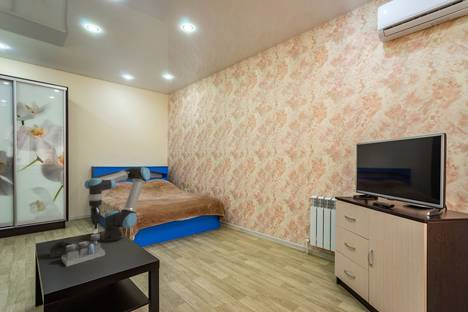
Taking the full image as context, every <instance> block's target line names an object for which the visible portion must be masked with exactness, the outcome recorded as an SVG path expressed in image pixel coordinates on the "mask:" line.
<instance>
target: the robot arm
mask: <svg viewBox="0 0 468 312" xmlns="http://www.w3.org/2000/svg"><path fill="white" fill-rule="evenodd" d="M150 178H151V172H150V169H149V168H147V167H143V166H141V167H129V168H125V169H122V170H120V171H119V172H116V173H111V174H108V175H104V176H101V177H94V178H93V177H92V178H90V179H87V180H85V182H84V188H85V189H87V190H88V199H89V201H88V205H89V207H91V208H90V215H91V223H92V235H93V234H99V224H100V216H101V210H100V206H101V205H102V201H103V200H102V198H103V194H102V191H107V190H108V191H109V190H112V189H115V187H116V186H117V185H116V184H117V182H121V181H132V185H131V188H130V190H129V193H128V195H127V199H126V203H125V204H124V208H122V209H121V211H120V210H119V209H118V210H111V211H108V212H105V214H104V217H103V220H104V231H103V234H102V236H101V240H102V241H103V242H114V241H118V240H120V239H122V238H123V232H122V229H121V228H132V227H134V225H136V223H137V221H138V215H137V214H136V213H137V212H136V208H137V205H138V202H139V198H140V195H141V192H142V189H143V186H144V185H145V184H146V182H147V181H148V180H150Z"/></svg>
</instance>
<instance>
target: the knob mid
mask: <svg viewBox="0 0 468 312" xmlns="http://www.w3.org/2000/svg"><path fill="white" fill-rule="evenodd" d="M89 241H90V240H89ZM89 241H88V240H86V241H85V240H84V241H80V242H79V243H78V249H79V248H80V249H83V248H87V247H89V245H90V242H89ZM89 248H90V247H89Z"/></svg>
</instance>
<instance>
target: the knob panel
mask: <svg viewBox="0 0 468 312" xmlns="http://www.w3.org/2000/svg"><path fill="white" fill-rule="evenodd" d="M101 245H102V244H101V243H100V242H97V245H94V253H93V254H90V247H87V248H83V249H80V248H79V247H78V250H77V249H76V250H75V251H71V252H67V251H66V255H62V256H61V261H62V263H63V264H64V265H65V267H69V266H73V265H76V264H77V265H78V264H79V263H80V264H81V263H84V262H87V261H89V260H93V259H97V258H101V257H103V256H106V250H105V249H103V248H102V247H101Z"/></svg>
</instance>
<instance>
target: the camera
mask: <svg viewBox="0 0 468 312" xmlns="http://www.w3.org/2000/svg"><path fill="white" fill-rule="evenodd" d="M70 244H73V242H69V241H63V240H58V241H56V242H55V244H54V245H52V246H51V247H50V250H49V258H52V259H53V258H58V257H62V255H66V246H68V245H70Z"/></svg>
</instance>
